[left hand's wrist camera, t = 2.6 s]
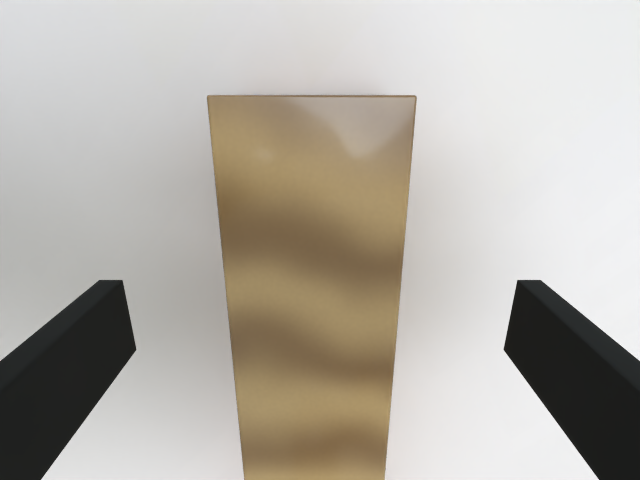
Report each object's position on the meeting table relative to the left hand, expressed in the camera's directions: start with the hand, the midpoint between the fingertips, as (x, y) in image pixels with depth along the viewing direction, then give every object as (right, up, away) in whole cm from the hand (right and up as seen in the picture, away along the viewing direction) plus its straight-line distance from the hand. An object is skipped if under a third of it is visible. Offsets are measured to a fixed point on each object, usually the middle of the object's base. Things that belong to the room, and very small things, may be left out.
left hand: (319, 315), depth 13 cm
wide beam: (0, -19, +20) cm, 28 cm away
